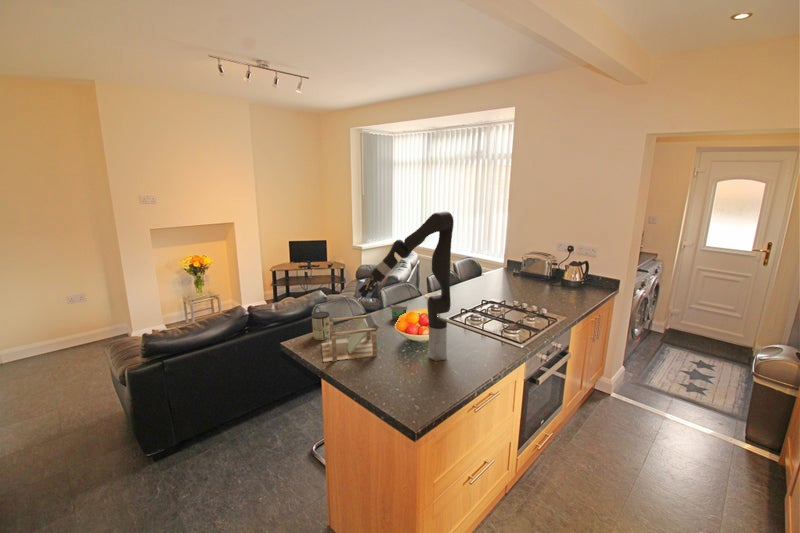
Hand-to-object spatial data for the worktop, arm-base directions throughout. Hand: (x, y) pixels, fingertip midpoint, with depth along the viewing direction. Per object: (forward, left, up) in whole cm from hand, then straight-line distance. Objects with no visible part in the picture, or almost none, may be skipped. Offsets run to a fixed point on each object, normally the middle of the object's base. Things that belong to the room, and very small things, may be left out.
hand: (360, 294), depth 195 cm
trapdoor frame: (0, +8, -31) cm, 32 cm away
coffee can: (+23, +22, -32) cm, 45 cm away
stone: (0, +8, -28) cm, 30 cm away
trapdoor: (0, -1, -25) cm, 25 cm away
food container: (+37, -28, -32) cm, 57 cm away
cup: (+37, -54, -32) cm, 73 cm away
